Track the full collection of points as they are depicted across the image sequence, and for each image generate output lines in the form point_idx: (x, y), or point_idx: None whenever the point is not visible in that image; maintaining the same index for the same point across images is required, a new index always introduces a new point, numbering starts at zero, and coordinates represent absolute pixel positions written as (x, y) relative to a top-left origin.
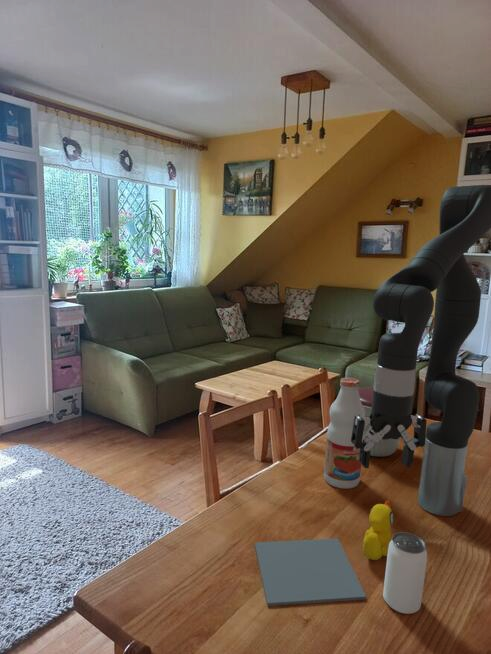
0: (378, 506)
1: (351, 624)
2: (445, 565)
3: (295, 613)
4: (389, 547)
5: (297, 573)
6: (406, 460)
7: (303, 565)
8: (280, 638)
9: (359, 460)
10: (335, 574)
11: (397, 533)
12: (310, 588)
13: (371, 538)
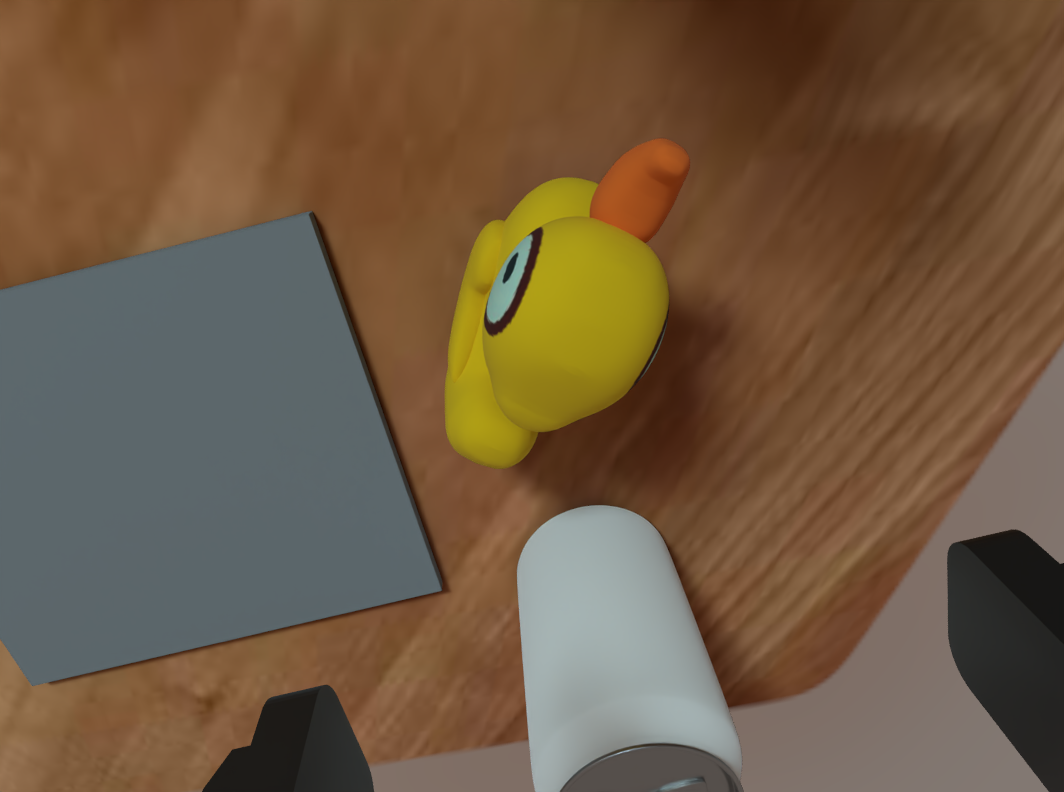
0: (554, 350)
1: (376, 690)
2: (889, 316)
3: (159, 684)
4: (535, 779)
5: (117, 522)
6: (1015, 717)
7: (136, 467)
8: (129, 774)
9: (215, 788)
10: (304, 497)
11: (600, 762)
12: (195, 592)
13: (480, 462)
